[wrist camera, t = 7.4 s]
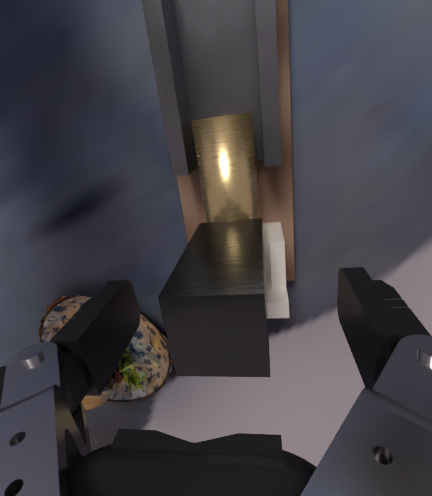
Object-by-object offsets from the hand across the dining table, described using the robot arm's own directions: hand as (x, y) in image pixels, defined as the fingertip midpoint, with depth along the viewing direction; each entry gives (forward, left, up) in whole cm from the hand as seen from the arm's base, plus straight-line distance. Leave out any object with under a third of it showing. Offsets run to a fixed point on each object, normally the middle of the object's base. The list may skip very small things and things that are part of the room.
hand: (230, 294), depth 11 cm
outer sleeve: (-8, 0, -8) cm, 12 cm away
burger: (+11, -13, -10) cm, 19 cm away
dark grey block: (-2, 0, -7) cm, 8 cm away
